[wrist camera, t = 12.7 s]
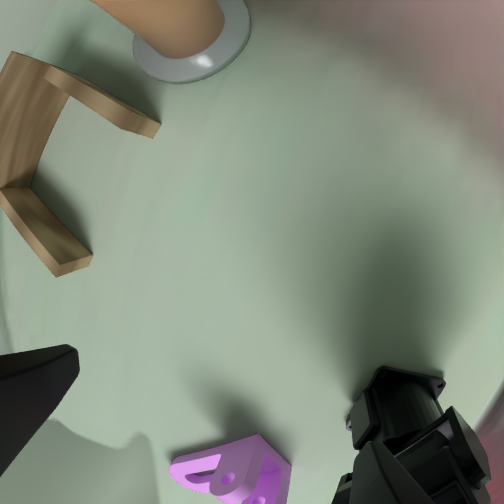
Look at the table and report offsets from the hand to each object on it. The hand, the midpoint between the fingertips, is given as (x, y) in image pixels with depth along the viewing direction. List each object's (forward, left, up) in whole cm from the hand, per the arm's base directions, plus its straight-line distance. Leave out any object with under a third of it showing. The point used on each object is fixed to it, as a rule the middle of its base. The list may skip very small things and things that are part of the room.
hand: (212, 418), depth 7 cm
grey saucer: (+11, -16, -13) cm, 23 cm away
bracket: (-1, +20, -13) cm, 24 cm away
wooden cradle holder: (+19, -5, -13) cm, 23 cm away
